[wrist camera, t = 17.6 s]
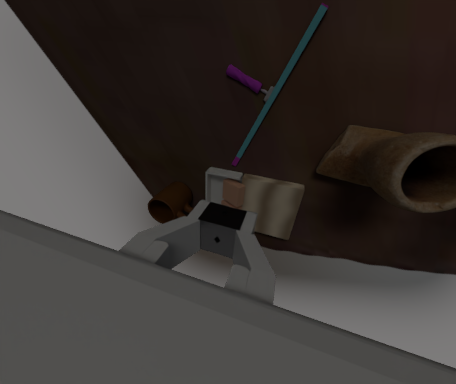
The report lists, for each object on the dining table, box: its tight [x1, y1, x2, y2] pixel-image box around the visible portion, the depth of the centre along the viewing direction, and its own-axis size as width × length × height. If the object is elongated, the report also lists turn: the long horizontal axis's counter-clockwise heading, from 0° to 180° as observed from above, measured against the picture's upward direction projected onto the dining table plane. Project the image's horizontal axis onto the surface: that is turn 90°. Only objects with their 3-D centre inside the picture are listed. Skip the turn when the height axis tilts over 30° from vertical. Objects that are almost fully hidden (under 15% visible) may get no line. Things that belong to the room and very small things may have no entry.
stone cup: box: [316, 125, 456, 213], centre depth 27 cm, size 15×12×15 cm
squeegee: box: [226, 3, 328, 167], centre depth 35 cm, size 29×2×10 cm
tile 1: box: [222, 178, 245, 207], centre depth 43 cm, size 5×5×2 cm
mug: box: [148, 182, 194, 224], centre depth 47 cm, size 12×8×9 cm, turn 75°
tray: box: [206, 167, 243, 204], centre depth 46 cm, size 8×14×3 cm, turn 176°
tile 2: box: [221, 199, 242, 210], centre depth 46 cm, size 5×5×2 cm
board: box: [241, 174, 304, 240], centre depth 44 cm, size 13×14×2 cm
